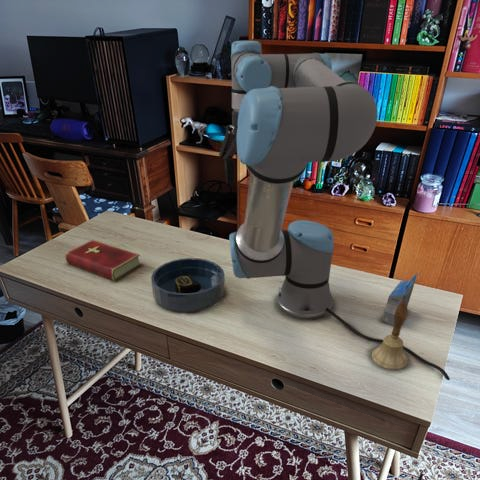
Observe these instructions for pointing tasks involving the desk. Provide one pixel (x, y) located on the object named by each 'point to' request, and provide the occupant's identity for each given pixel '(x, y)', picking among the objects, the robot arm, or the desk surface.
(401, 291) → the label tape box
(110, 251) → the hardcover book
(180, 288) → the tape measure
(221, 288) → the bowl
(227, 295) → the desk surface
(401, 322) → the hand bell
